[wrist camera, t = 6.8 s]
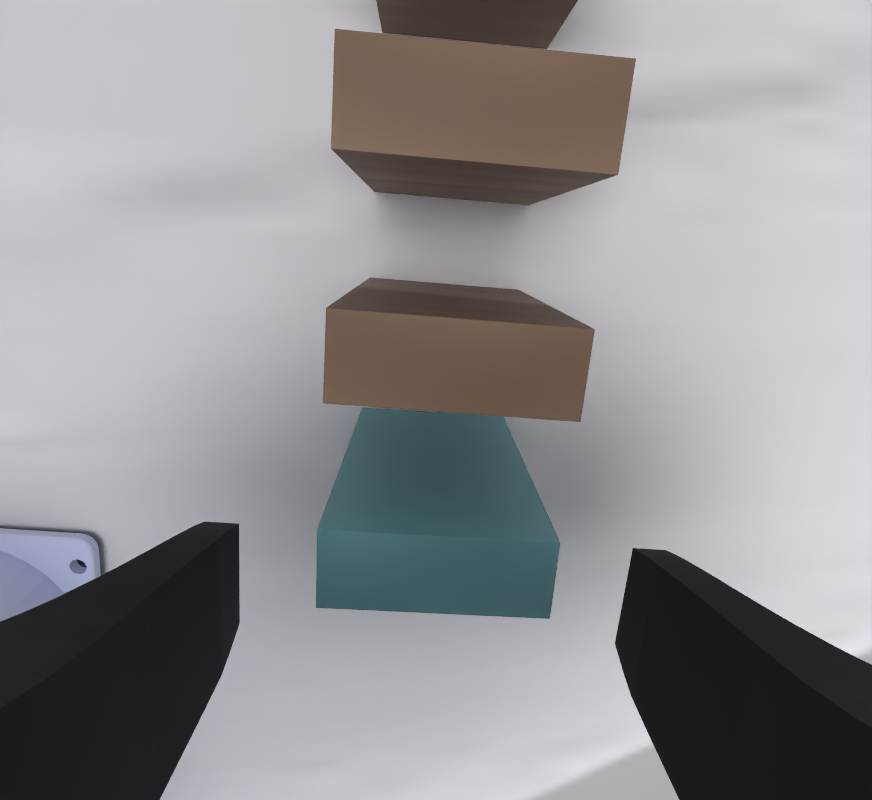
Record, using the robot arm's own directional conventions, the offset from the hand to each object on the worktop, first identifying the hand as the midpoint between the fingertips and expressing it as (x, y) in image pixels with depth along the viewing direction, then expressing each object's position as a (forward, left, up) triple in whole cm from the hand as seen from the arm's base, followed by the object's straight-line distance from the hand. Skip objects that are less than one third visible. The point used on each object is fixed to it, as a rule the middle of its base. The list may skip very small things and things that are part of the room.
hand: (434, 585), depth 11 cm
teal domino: (0, 0, -8) cm, 8 cm away
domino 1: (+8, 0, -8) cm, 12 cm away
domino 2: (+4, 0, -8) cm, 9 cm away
